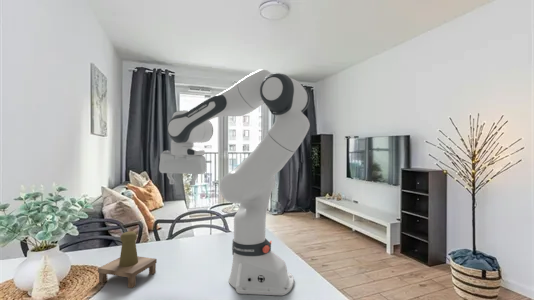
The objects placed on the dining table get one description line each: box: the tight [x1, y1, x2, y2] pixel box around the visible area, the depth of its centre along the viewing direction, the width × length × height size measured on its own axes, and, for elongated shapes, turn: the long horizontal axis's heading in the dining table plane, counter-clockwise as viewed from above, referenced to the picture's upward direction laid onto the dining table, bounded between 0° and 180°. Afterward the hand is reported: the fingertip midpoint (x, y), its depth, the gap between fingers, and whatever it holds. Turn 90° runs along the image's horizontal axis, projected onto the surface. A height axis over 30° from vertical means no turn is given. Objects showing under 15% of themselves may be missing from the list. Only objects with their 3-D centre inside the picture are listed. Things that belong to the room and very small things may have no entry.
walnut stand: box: [97, 255, 157, 289], centre depth 95 cm, size 14×12×5 cm
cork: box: [119, 230, 138, 267], centre depth 95 cm, size 6×6×11 cm
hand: (182, 184), depth 109 cm, fingers open, 8 cm apart
